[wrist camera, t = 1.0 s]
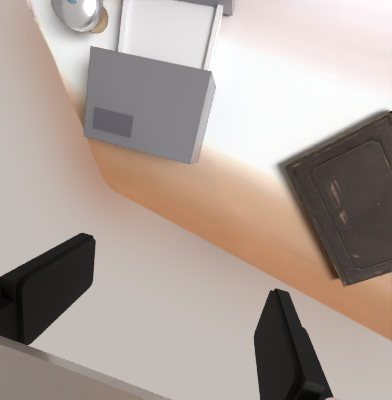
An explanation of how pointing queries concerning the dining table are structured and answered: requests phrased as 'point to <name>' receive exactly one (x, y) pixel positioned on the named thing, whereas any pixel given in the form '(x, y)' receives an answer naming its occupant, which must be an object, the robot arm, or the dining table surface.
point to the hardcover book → (351, 200)
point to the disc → (79, 13)
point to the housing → (148, 104)
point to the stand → (101, 22)
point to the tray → (173, 30)
